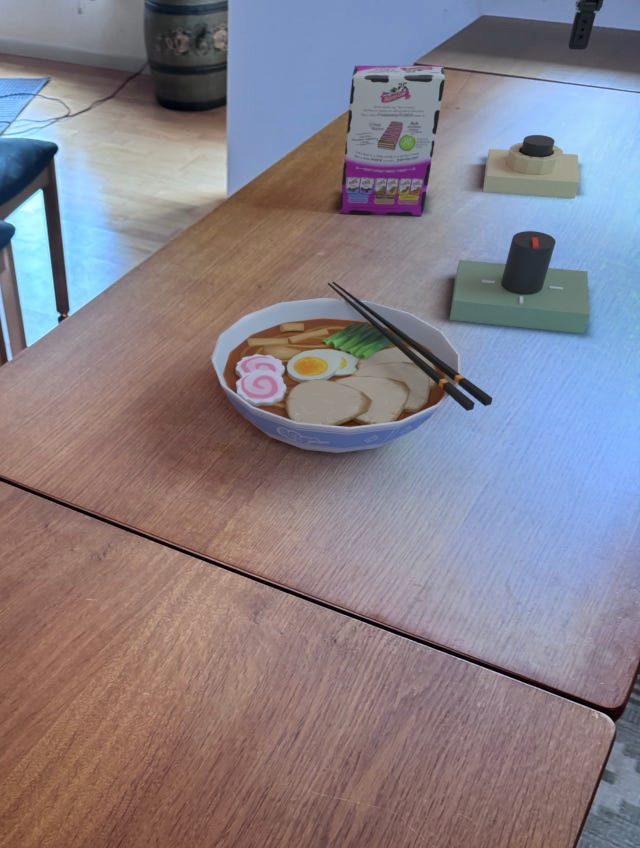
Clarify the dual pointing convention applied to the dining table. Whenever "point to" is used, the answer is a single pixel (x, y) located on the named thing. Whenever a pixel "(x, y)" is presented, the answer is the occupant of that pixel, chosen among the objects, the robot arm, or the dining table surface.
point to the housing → (531, 173)
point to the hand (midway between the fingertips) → (576, 47)
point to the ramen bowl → (338, 372)
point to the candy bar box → (390, 139)
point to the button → (537, 146)
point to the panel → (520, 299)
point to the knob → (528, 262)
